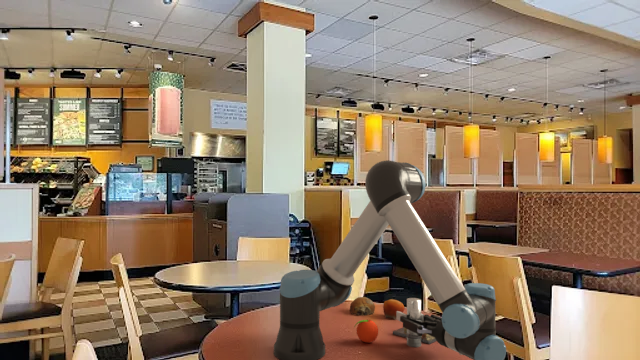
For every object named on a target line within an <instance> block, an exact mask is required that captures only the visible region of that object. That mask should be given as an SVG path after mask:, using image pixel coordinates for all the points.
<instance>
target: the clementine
mask: <svg viewBox="0 0 640 360" xmlns="http://www.w3.org/2000/svg"><path fill="white" fill-rule="evenodd" d="M356 326H357V327H356ZM355 327H356V335H357V338H359V340H360V341H362V342H363V343H365V344H366V343H372V342H374V341H375V340H376V339H377V338H378V335H379V328H378V325H377V324H376V322H374V321H373V320H371V319H362V320H359V321H358V322H356V323H355V325H354V327H353V328H355Z"/></svg>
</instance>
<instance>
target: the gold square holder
mask: <svg viewBox="0 0 640 360" xmlns="http://www.w3.org/2000/svg"><path fill="white" fill-rule="evenodd" d="M392 335H395V336H399V337H402V338H406V339H407V329H406V328H404V327H403V326H402V327H400V328H397V329H395V330H392ZM435 342H437V340H436V339H435V337H433V336H431V335H428V334H426V333H423V336H422V338H421V343H424V344H427V345H431V344H433V343H435Z"/></svg>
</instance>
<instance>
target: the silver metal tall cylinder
mask: <svg viewBox="0 0 640 360" xmlns="http://www.w3.org/2000/svg"><path fill="white" fill-rule="evenodd" d="M406 314H407V315H410V316H411V318H414V319H417V320H421V314H422V299H421V298H417V297H409V298H406ZM421 338H422V336H419V335H418V334H417V333H414V332H412V331H410V330H408V329H407V338H406V346H408V347H410V348H419V347H422V342H421Z"/></svg>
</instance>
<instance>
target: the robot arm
mask: <svg viewBox="0 0 640 360" xmlns="http://www.w3.org/2000/svg"><path fill="white" fill-rule="evenodd" d="M364 181H365V182H364V183H365V185H364V186H365V190H366V191H365V192H366V193H367V196H368V199H369V202H368V203H367V205H366V206H365V208H364V210H363V211H362V213H361V214H360V215H359V217H358V218H357V220H356V221H355V223H354V224H353V225H352V227H351V228H350V230H349V231H348V233H347V234H346V236H345V237H344V239H343V240H342V242H341V243H340V245H339V246H338V248H337V249H336V251H335V252H334V253H333V254H332V256H331V258H326V259H323V261H322V262H321V264H320V265H319V267H318V268H317V270H313V269H298V270H293V271H290V272H287V273H285V274H284V275H283V276H282V277H281V280H280V285H279V300H280V301H279V329H278V332H277V335H276V338H275V339H276V340H275V342H274V345H273V356H274V357H275V358H277V359H279V360H319V359H321V358H323V357H324V356H325V354H326V344H325V342H324V338H323V333H322V331H321V328H320V327H321V325H320V319H321V318H320V312H323V311H324V310H328V309H331V308H335V307H338V306H340V305H341V304H343V303H345V302H346V301H347V300H348V299H349V297H350V295H351V293H352V290H353V287H352V286H353V285H354V282H355V277H354V274H355V273H356V272H357V270H358V269H359V268H360V267H361V266H360V265H362V263H363V262H364V260H365V259H366V258H367V256H368V255H369V253H370V252H371V250H372V249H373V248H374V247H375V245H376V244H377V242H378V241H379V240H380V238H381V237H382V235H383V234H384V232H385V231H386V229H388V227H390V228H391V229H392V231H393V233H394V235H395V236H396V238H397V240H398V242H399V243H400V245H401V246H402V248H403V249H404V251H405V253H406V254H407V256H408V258H409V260H410V261H411V263H412V264H413V266H414V268H415V269H416V271H417V272H418V274H419V275H420V277H421V279H422V281H423V282H424V285H426V287H427V289H428V291H429V292H430V294H431V296H432V297H433V300H435V302H436V304H437V306H438V307H439V309H440V311H441V312H442V315H441V316H438V315H435V314H430V315H429V314H424V313H421V320H417V319H414V318H411V316H410V315H407V313H404V312H403V313H402V312H399V311H396V319H395V321H399V322H400V323H402V328H403V327H404V328H406V329H408V330H410V331H412V332H414V333H417V334H418V335H419V336H423V333H426V334H428V335H431V336H433V337H435V339H436V340H437V341H436V342H437V343H438V344H439V345H441V346H443V347H445V348H447V349H450V350H452V351H454V352H455V353H458V354H459V355H460V356H465V357H467V358H469V359H471V360H505V358H506V355H507V346H506V344H505V341H504V340H503V339H502V338H501V337H499V336H498V335H496V333H497V331H496V301H497V299H496V289H495V288H494V286H492V285H491V284H489V283H488V284H487V283H480V282H470V283H467V284H465V285H463V283H462V281H461V280H460V278H459V277H458V276H457V273H456V272H455V270H454V269H453V268H452V266H451V264H450V263H449V262H448V259H447V258H446V257H445V255H444V254H443V252H442V250H441V249H440V246H439V245H438V244H437V242H436V241H435V239H434V238H433V236H432V235H431V233H430V232H429V229H428V228H427V227H426V225H425V223H424V222H423V221H422V219H421V217H420V216H419V214H418V213H417V211H416V210H415V208H414V206H413V205H412V204H413V203H416V202H417V201H419V200H420V199H421V198H422V197H423V195H424V193H425V192H426V187H427V186H426V185H427V184H426V178H425V175H424V173H423V172H422V170H420V169H419V168H418V167H417V166H415V165H414V164H412V163H409V162H398V161H394V160H382V161H379V162H376V163H375V164H373V165H372V166H371V167H370V168H369V170H368V172H367V174H366V177H365V180H364Z"/></svg>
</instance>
